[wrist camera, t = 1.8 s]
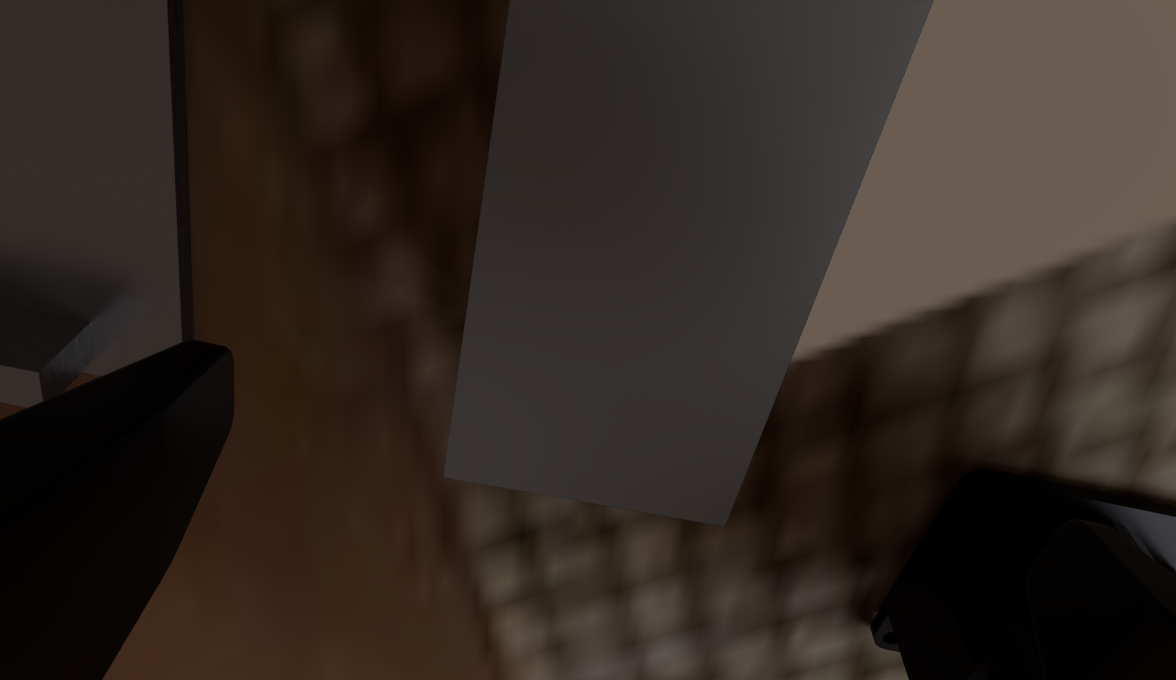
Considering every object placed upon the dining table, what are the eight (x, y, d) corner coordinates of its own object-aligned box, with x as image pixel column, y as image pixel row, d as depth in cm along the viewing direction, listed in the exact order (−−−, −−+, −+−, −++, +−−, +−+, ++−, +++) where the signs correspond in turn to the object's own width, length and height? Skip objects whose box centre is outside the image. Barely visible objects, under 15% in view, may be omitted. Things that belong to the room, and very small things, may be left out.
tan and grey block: (838, -67, 15) (936, -7, 10) (701, 352, 20) (724, 526, 15) (557, -131, 14) (523, -98, 10) (488, 311, 19) (443, 477, 15)
